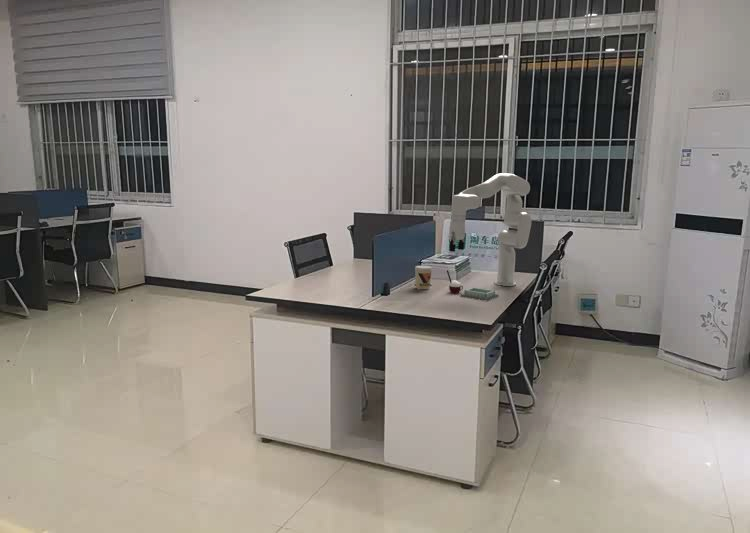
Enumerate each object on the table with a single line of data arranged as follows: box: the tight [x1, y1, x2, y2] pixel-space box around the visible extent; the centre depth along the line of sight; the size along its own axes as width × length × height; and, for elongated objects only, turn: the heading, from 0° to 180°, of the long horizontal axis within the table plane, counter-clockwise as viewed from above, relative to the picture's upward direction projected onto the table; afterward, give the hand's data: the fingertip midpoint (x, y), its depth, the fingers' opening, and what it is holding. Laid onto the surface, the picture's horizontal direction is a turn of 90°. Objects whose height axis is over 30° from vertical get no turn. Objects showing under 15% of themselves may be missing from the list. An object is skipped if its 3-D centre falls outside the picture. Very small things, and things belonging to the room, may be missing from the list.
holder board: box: [460, 286, 500, 301], centre depth 303 cm, size 14×15×3 cm
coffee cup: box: [414, 265, 433, 290], centre depth 319 cm, size 9×9×12 cm
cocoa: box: [446, 269, 464, 294], centre depth 311 cm, size 10×6×12 cm, turn 80°
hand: (456, 250), depth 308 cm, fingers open, 9 cm apart
